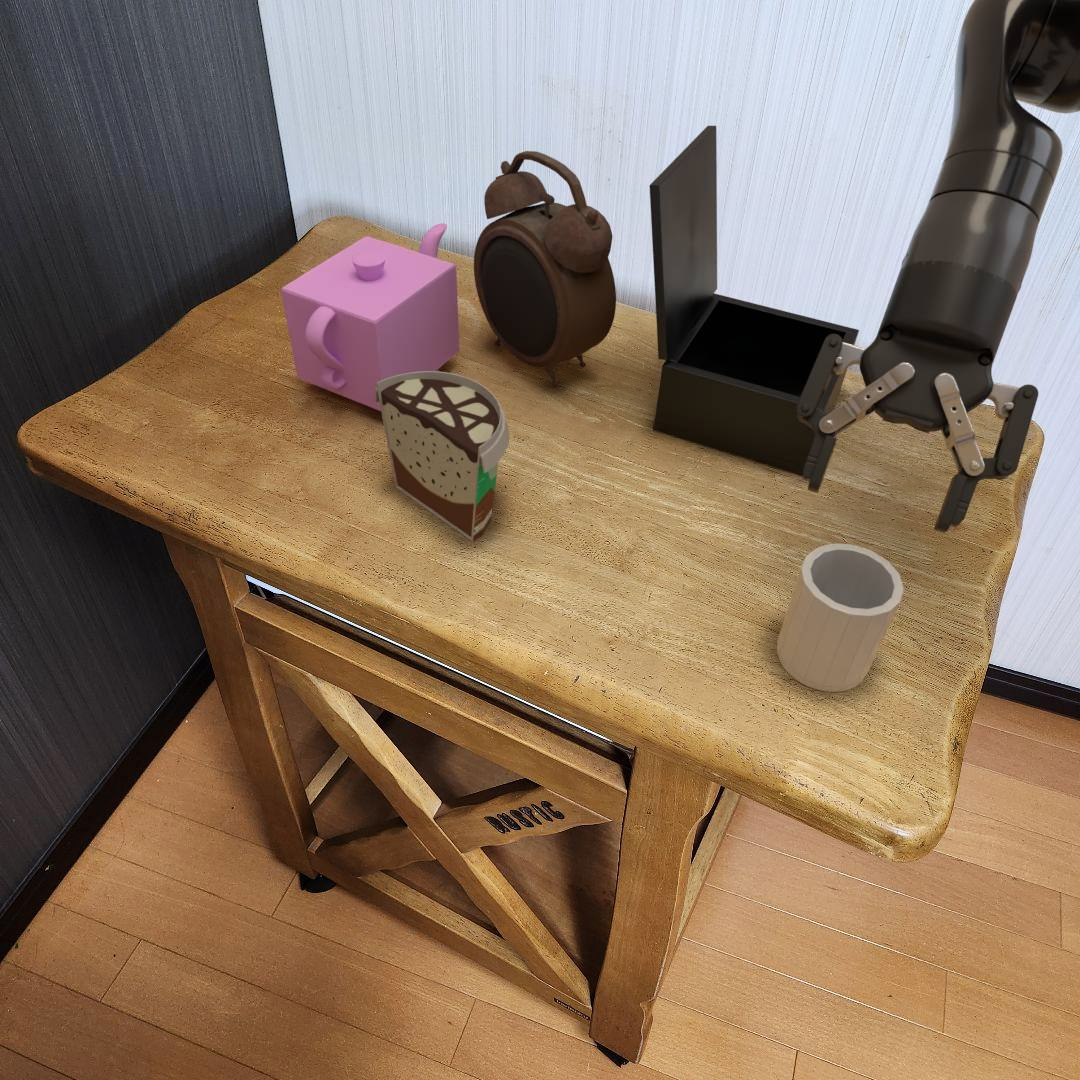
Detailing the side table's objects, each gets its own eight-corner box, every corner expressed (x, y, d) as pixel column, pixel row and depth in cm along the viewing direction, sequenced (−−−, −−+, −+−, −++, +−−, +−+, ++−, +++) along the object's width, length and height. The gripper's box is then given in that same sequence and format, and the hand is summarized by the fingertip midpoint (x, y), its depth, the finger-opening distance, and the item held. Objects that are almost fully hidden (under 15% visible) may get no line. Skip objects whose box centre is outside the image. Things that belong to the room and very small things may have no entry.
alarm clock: (464, 343, 92) (457, 142, 78) (519, 320, 96) (521, 123, 82) (559, 410, 85) (570, 200, 71) (615, 382, 88) (636, 176, 74)
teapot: (369, 441, 80) (353, 315, 72) (281, 405, 84) (255, 280, 75) (490, 339, 93) (489, 221, 84) (410, 311, 97) (400, 195, 88)
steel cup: (876, 640, 66) (910, 562, 60) (858, 705, 61) (893, 628, 56) (789, 609, 68) (815, 531, 62) (765, 671, 63) (791, 593, 58)
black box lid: (716, 125, 77) (707, 125, 78) (659, 185, 68) (649, 185, 68) (717, 288, 87) (709, 288, 87) (667, 360, 77) (658, 359, 78)
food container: (540, 513, 74) (544, 414, 67) (486, 551, 71) (484, 451, 64) (437, 447, 80) (431, 349, 73) (383, 479, 77) (371, 379, 70)
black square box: (839, 393, 88) (859, 329, 83) (804, 476, 79) (824, 410, 74) (701, 355, 92) (712, 292, 87) (652, 430, 83) (662, 364, 78)
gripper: (853, 234, 59) (769, 470, 60) (1089, 287, 55) (997, 540, 55) (849, 274, 66) (774, 485, 67) (1057, 324, 62) (976, 548, 63)
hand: (875, 510), depth 61 cm, fingers open, 8 cm apart
